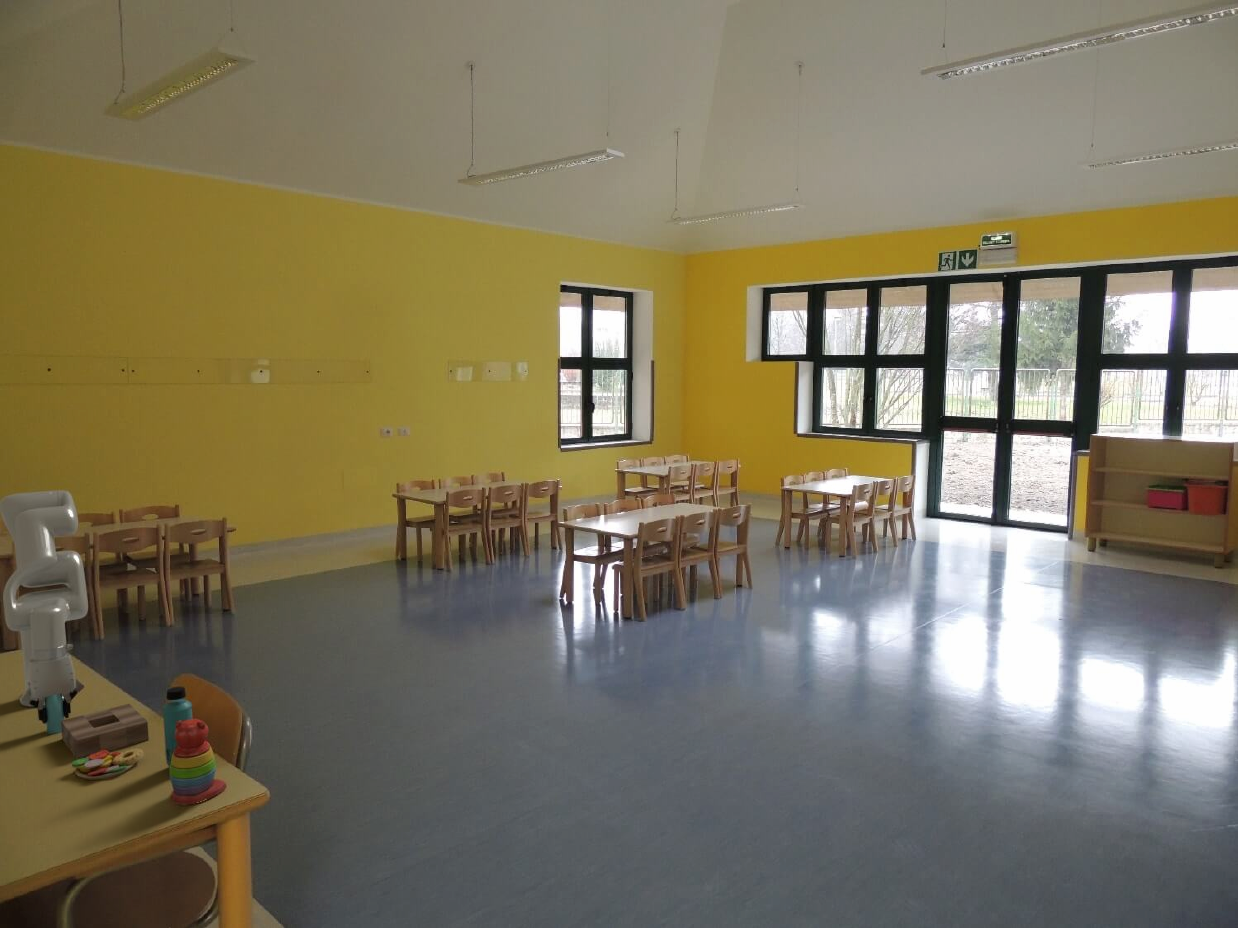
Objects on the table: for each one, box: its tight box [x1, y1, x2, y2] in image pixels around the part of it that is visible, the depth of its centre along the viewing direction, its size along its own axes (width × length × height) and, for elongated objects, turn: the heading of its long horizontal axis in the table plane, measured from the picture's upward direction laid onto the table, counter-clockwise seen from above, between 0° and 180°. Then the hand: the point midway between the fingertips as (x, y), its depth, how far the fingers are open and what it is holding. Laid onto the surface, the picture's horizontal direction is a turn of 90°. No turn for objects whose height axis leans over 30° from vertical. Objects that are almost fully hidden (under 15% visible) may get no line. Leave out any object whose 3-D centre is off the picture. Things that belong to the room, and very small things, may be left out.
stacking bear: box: [168, 718, 227, 805], centre depth 196 cm, size 11×10×18 cm
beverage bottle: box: [162, 686, 193, 768], centre depth 209 cm, size 6×7×20 cm
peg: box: [44, 694, 65, 735], centre depth 230 cm, size 4×4×12 cm
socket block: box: [61, 703, 150, 760], centre depth 225 cm, size 16×16×5 cm
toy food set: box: [71, 748, 145, 781], centre depth 210 cm, size 13×13×3 cm
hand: (55, 718), depth 230 cm, fingers open, 4 cm apart
